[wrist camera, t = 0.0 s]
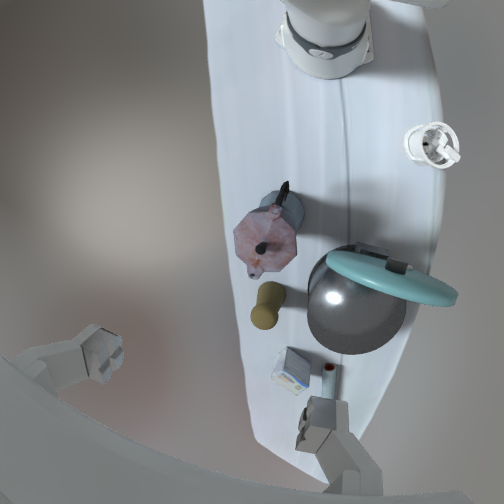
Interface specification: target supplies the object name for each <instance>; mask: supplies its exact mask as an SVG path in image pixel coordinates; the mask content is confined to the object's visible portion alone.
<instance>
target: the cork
mask: <svg viewBox="0 0 504 504" xmlns="http://www.w3.org/2000/svg"><path fill="white" fill-rule="evenodd" d="M285 297H286V293H285V290H284V288H283V287H282V286H281V285H280V284H279V283H277V282H273V281H270V282H265V283H263V284H262V285H261V286H260V287H259V289H258V295H257V303H256V306H255V307H254V308H253V310H252V311H251V321H252V323H253V324H254V325H255V326H256V327H257V328H259V329H262V330H268V329H271V328H272V327H274V326H275V325H276V323H277V321H278V311H279V309H280V307H281V306H282V304H283V302H284V300H285Z"/></svg>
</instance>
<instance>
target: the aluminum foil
mask: <svg viewBox="0 0 504 504" xmlns="http://www.w3.org/2000/svg"><path fill="white" fill-rule="evenodd" d="M336 370H337V367H336V365H335V364H325V365H324V366H323V371H322V398H328V399H333V400H334V398H335V385H336Z"/></svg>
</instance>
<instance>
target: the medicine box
mask: <svg viewBox="0 0 504 504" xmlns="http://www.w3.org/2000/svg"><path fill="white" fill-rule="evenodd" d="M310 368H311V363H309V362H308V361H306V360H305V359H304V358H302V357H301V356H299V355H298V354H296V353H295V352H294V351H292V350H291V349H289V348H288V347H285V348H284V349H283V350H282V351H281V352H280V353H279V354H277V355H276V356H275V361H274V366H273V370H272V375H271V380H273V381H274V382H276V383H277V384H279V385H280V386H282V387H283V388H285V389H287V390H288V391H290V392H291V393H293V394H294V395H298V394H299V393H301V392H302V391H304V390H305V389H307V388H308V387H309V382H310Z"/></svg>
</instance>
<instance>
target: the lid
mask: <svg viewBox="0 0 504 504" xmlns="http://www.w3.org/2000/svg"><path fill="white" fill-rule="evenodd" d="M326 264H327V265H328V266H329V267H330V268H331V269H333V270H334V271H336V272H337V273H339V274H341V275H343V276H345V277H347V278H349V279H351V280H353V281H355V282H358V283H360V284H362V285H365V286H367V287H370V288H372V289H375V290H378V291H381V292H383V293H386V294H389V295H392V296H395V297H399V298H402V299H406V300H409V301H413V302H417V303H422V304H427V305H432V306H440V307H450V306H453V305H455V302H456V300H457V297H458V292H457V291H456V290H455V289H454V288H452V287H450V286H449V285H447V284H445V283H444V282H442V281H439V280H438V279H435V278H433V277H431V276H429V275H426V274H424V273H421V272H419V271H416V270H414V269H413V267H412V266H410V265H408V263H407V262H404V261H402V260H399V259H395V258H391V257H388V258H387V261H386V260H382V259H379V258H375V257H371V256H367V255H362V254H358V253H353V252H346V251H329V252H328V255H327V258H326Z"/></svg>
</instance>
